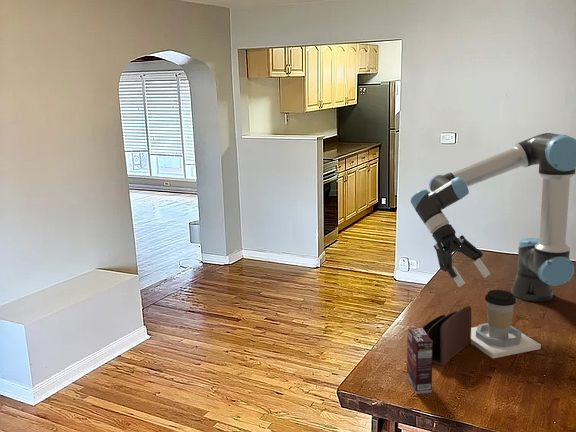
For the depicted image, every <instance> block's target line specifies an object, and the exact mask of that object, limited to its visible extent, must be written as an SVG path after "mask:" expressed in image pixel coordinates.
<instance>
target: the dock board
mask: <svg viewBox="0 0 576 432" xmlns="http://www.w3.org/2000/svg"><path fill="white" fill-rule="evenodd" d="M470 344H471V345H473V346H474V347H475V348H477V349H478V350H480V351H481V352H483V353H484V354H485V355H487V356H488V357H489V358H491V359H497V358H502V357H507V356H511V355H512V356H513V355H517V354H523V353H527V352H531V351H537V350H541V347H542V344H541V343H540V342H538V341H536V340H534V339H532V338H530V337H529V336H527V335H525V334H524V333H523V332H522V331H521V330H519V329H518V328H516V327H515V326H513V325H511V326H510V330H509V335H508V339H506V340H502V339H496V338H491V337H489V327H488V322H485V323H479V324H478V325H477V326H474V327H471V343H470Z"/></svg>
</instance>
